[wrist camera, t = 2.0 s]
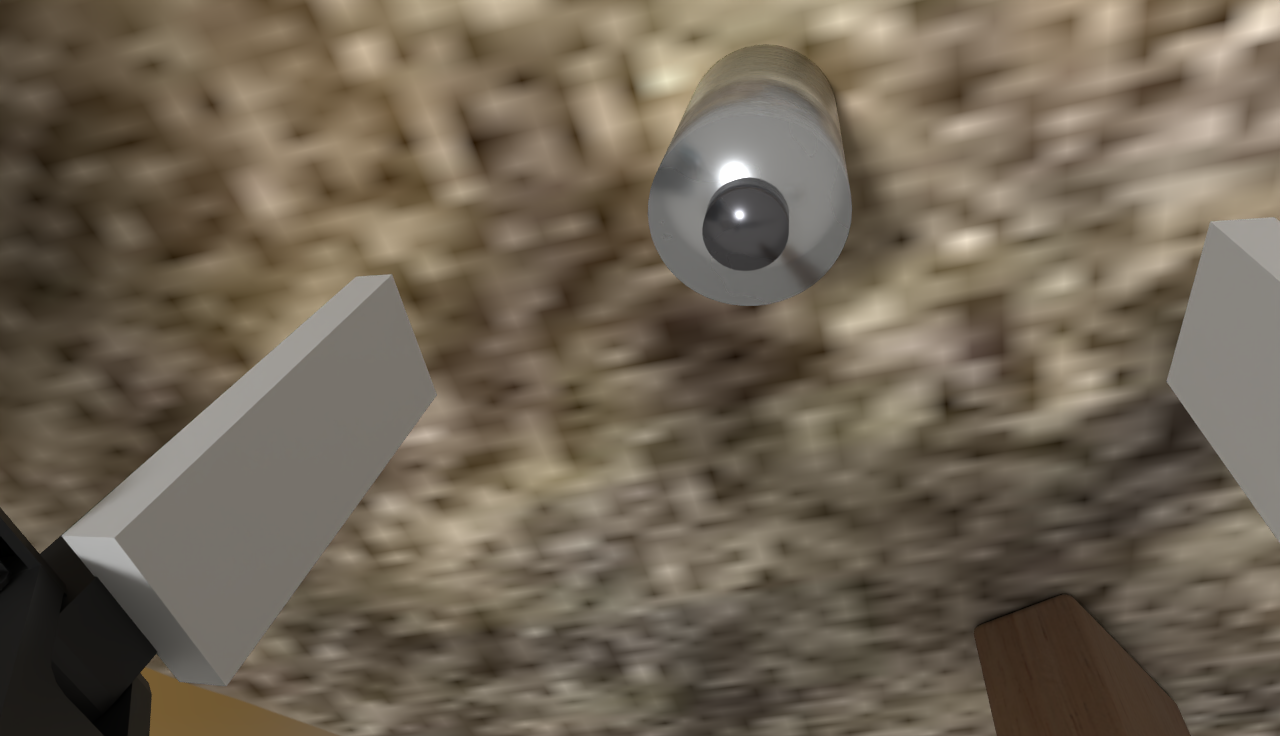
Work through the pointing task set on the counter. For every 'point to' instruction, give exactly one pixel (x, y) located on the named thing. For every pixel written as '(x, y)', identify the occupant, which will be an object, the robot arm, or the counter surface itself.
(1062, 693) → the wooden block
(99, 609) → the robot arm
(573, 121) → the counter surface
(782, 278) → the cell
